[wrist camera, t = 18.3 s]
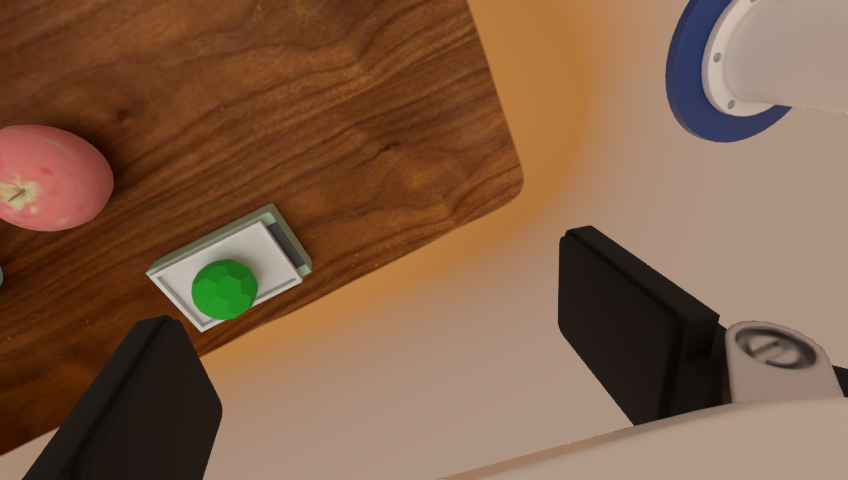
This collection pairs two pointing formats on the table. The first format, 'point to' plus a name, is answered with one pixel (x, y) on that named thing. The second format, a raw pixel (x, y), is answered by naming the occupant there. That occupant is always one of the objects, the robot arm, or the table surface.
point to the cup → (1, 276)
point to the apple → (50, 178)
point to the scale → (244, 243)
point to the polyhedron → (224, 289)
